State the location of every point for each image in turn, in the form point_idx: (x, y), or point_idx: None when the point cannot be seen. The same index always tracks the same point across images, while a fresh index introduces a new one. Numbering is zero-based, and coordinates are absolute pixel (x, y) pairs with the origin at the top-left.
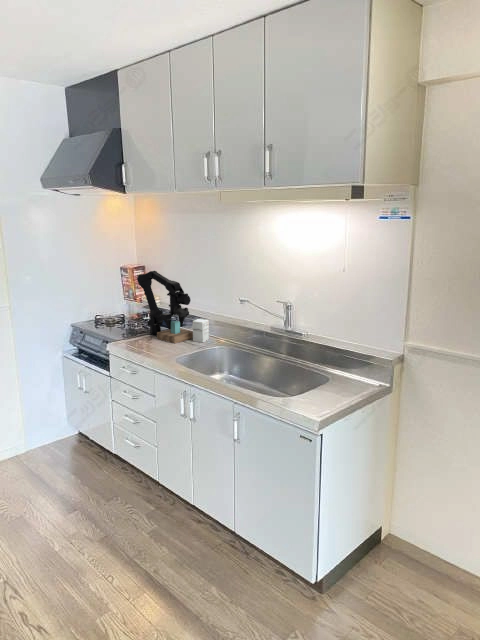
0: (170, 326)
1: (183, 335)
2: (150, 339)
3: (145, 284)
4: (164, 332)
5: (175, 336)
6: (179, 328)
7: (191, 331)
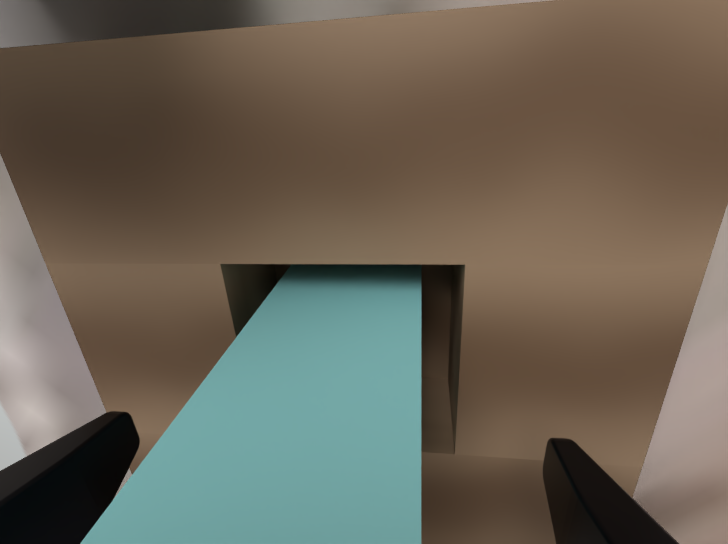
0: (625, 530)
1: (361, 22)
2: (650, 509)
3: None
4: (519, 496)
5: (704, 20)
6: (244, 356)
7: (10, 139)
